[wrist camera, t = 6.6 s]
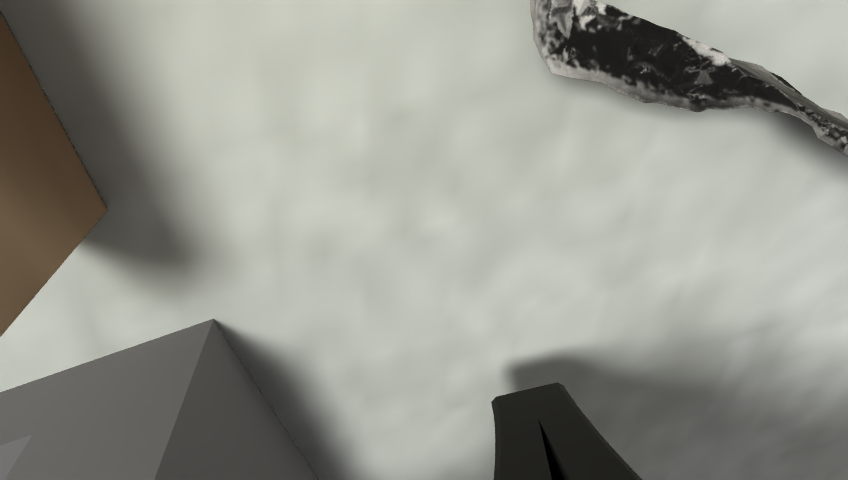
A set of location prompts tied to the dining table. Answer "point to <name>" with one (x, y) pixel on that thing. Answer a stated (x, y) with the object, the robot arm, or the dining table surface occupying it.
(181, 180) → the dining table surface
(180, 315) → the dining table surface
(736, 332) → the dining table surface
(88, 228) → the brown wooden plank
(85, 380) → the grey stepped block
